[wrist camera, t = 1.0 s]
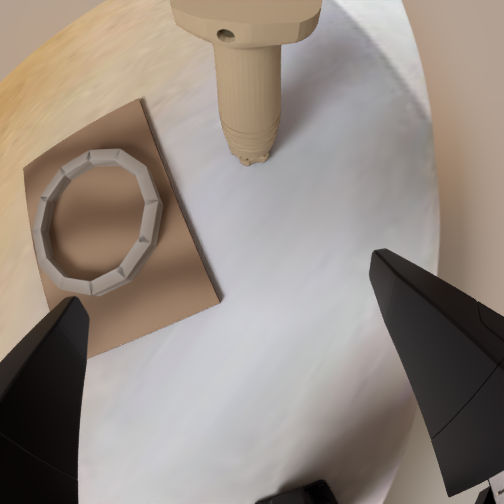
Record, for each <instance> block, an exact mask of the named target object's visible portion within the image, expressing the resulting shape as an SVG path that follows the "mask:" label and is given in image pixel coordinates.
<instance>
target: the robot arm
mask: <svg viewBox="0 0 504 504" xmlns="http://www.w3.org/2000/svg"><path fill="white" fill-rule="evenodd" d="M369 277H370V281H371V284H372V287H373V290H374V293H375V296H376V299H377V302H378V305H379V308H380V311H381V314H382V317H383V319H384V322H385V325H386V327H387V329H388V331H389V334H390V336H391V338H392V341H393V343H394V345H395V347H396V350H397V352H398V354H399V357H400V359H401V362H402V364H403V366H404V369H405V371H406V374H407V376H408V379H409V381H410V384H411V386H412V389H413V391H414V394H415V397H416V399H417V402H418V405H419V407H420V410H421V413H422V415H423V418H424V421H425V424H426V426H427V429H428V432H429V435H430V438H431V440H432V441H431V442H432V445H433V448H434V451H435V454H436V457H437V460H438V464H439V467H440V470H441V474H442V477H443V481H444V484H445V488H446V491H447V495H448V497H452V496H454V495H456V494H459V493H461V492H463V491H465V490H467V489H470V488H472V487H474V486H476V485H478V484H480V483H482V482H484V481H486V480H488V482H489V485H490V486H489V487H488V488H486V489H484V490H483V491H481V492H480V493H479V495H478V498H477V500H476V502H475V504H504V317H503V316H502V315H500V314H498V313H496V312H495V311H493V310H492V309H490V308H488V307H487V306H485V305H483V304H482V303H480V302H479V301H478V302H477V301H476V300H475V299H474V298H472V297H471V296H469V295H467V294H466V293H464V292H462V291H460V290H459V289H457V288H456V287H454V286H452V285H450V284H449V283H447V282H445V281H443V280H442V279H440V278H438V277H437V276H435V275H433V274H431V273H430V272H428V271H426V270H424V269H423V268H421V267H419V266H417V265H415V264H414V263H412V262H410V261H408V260H406V259H405V258H403V257H401V256H399V255H397V254H395V253H394V252H392V251H390V250H388V249H378V250H374V251H373V252H372V256H371V263H370V270H369ZM89 324H90V318H89V315H88V313H87V311H86V309H85V308H84V306H83V304H82V303H81V301H80V299H79V298H78V297H77V296H69V297H65V298H64V299H63V300H62V301H61V302H60V303H59V304H58V305H56V306H55V307H54V308H53V309H52V310H51V311H50V312H49V313H48V314H47V315H46V316H45V317H44V318H43V319H42V320H41V321H40V322H39V323H38V324H37V325H36V326H35V327H34V328H33V329H32V330H31V331H30V332H29V333H28V334H27V335H26V336H25V337H24V338H23V339H22V340H21V341H20V342H19V343H18V344H17V345H16V346H15V347H14V348H13V349H12V350H11V351H10V352H9V353H8V355H7V356H6V357H5V358H4V359H3V360H2V361H1V362H0V504H78V480H77V479H78V448H79V430H80V417H81V406H82V396H83V387H84V380H85V372H86V364H87V351H88V336H89ZM321 484H324V485H323V486H320V485H321ZM256 504H339V503H338V502H337V500H336V498H335V496H334V494H333V492H332V490H331V489H330V487H329V485H328V483H327V481H326V480H319V481H316V482H314V483H312V484H309V485H307V486H304V487H302V488H298V489H295V490H293V491H290V492H287V493H284V494H282V495H279V496H276V497H273V498H271V499H268V500H265V501H262V502H259V503H256Z"/></svg>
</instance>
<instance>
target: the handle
mask: <svg viewBox="0 0 504 504" xmlns="http://www.w3.org/2000/svg"><path fill="white" fill-rule="evenodd" d="M170 5H171V9H172V13H173V16H174V20H175V22H176V24H177V26H179V27H181V28H182V29H184V30H186V31H187V32H189V33H191V34H193V35H195V36H197V37H199V38H201V39H203V40H205V41H208V42H210V43H212V44H213V47H214V57H215V67H216V77H217V91H218V105H219V115H220V120H221V125H222V129H223V132H224V135H225V138H226V140H227V142H228V144H229V149H230V151H231V153H232V154H233V155H235V156H237V157H238V158H239V159H240V162H241V164H243V165H245V166H250V165H251V164H253V163H256V162H262V163H264V162H265V161H266V160H267V159H268V157H269V150H270V149H271V148H272V145H273V143H274V141H275V138H276V135H277V131H278V127H279V122H280V112H281V45H282V44H290V43H297V42H299V41H301V40H303V39H305V38H307V37H308V36H309V35H310V34H311V33H312V32H313V31H314V29H315V28H316V26H317V24H318V21H319V16H320V11H321V6H322V0H170Z"/></svg>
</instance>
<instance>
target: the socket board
mask: <svg viewBox="0 0 504 504" xmlns="http://www.w3.org/2000/svg"><path fill="white" fill-rule="evenodd" d="M23 170H24V182H25V192H26V201H27V209H28V216H29V222H30V228H31V234H32V240H33V245H34V250H35V255H36V260H37V264H38V269H39V273H40V277H41V281H42V285H43V289H44V293H45V296H46V300H47V303H48V307H49V310H50V311H51V310H52V309H53V308H54V307H55V306H56V305H58V304H59V303H60V302H61V301H62V300H63V299H64V298H65V297H69V296H77V297H78V298H79V299H80V301H81V303H82V304H83V306H84V308H85V309H86V311H87V313H88V315H89V318H90V324H89V336H88V351H87V359H88V358H91V357H93V356H96V355H98V354H101V353H103V352H106V351H108V350H111V349H113V348H116V347H118V346H121V345H123V344H125V343H128V342H130V341H133V340H135V339H138V338H140V337H142V336H145V335H147V334H150V333H152V332H154V331H157V330H159V329H161V328H164V327H166V326H168V325H171V324H173V323H175V322H178V321H180V320H182V319H185V318H187V317H189V316H192V315H194V314H196V313H198V312H201V311H203V310H205V309H208V308H210V307H212V306H214V305H217V304H219V303H220V301H219V299H218V296H217V294H216V292H215V290H214V287H213V285H212V283H211V280H210V278H209V276H208V274H207V271H206V269H205V267H204V264H203V262H202V260H201V257H200V255H199V253H198V250H197V248H196V245H195V243H194V241H193V238H192V236H191V233H190V231H189V229H188V226H187V224H186V221H185V219H184V216H183V214H182V211H181V209H180V206H179V204H178V201H177V199H176V196H175V194H174V191H173V189H172V186H171V184H170V181H169V178H168V176H167V173H166V171H165V168H164V165H163V163H162V160H161V158H160V155H159V152H158V150H157V147H156V144H155V141H154V139H153V136H152V133H151V130H150V128H149V125H148V122H147V119H146V117H145V114H144V111H143V108H142V105H141V102H140V100H139V98H138V99H136V100H134V101H132V102H130V103H128V104H126V105H124V106H122V107H120V108H118V109H116V110H114V111H113V112H111V113H109V114H107V115H105V116H103V117H101V118H100V119H98V120H96V121H94V122H93V123H91V124H89V125H87V126H86V127H84V128H82V129H81V130H79V131H77V132H76V133H74V134H72V135H71V136H69V137H68V138H66V139H65V140H63V141H61V142H60V143H58V144H57V145H55V146H54V147H52V148H51V149H49V150H48V151H46V152H45V153H43V154H42V155H41V156H39V157H38V158H36V159H35V160H34V161H32V162H31V163H29V164H28V165H27V166H25V167H24V168H23Z"/></svg>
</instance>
